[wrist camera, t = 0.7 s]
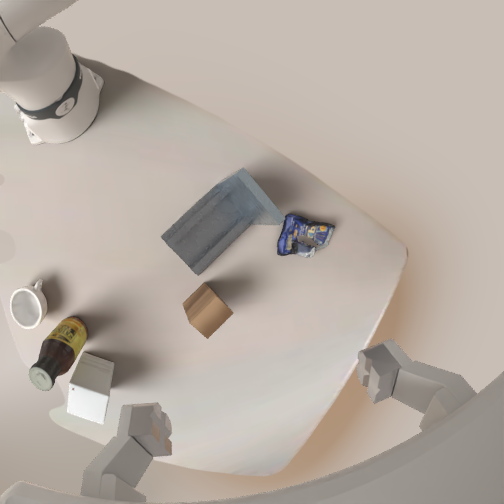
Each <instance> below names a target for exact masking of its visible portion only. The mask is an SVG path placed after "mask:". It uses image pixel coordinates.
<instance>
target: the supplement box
mask: <svg viewBox="0 0 504 504" xmlns="http://www.w3.org/2000/svg"><path fill="white" fill-rule="evenodd" d="M113 371H114V363H113V362H110V361H107V360H105V359H102V358H99V357H96V356H93V355H90V354H88V353H85V352H83V353H82V355H81V357H80V360H79V362H78V364H77V366H76V368H75V371H74V373H73V375H72V378H71V380H70V382H69V394H68V409H67V412H68V413H70V414H73V415H76V416H78V417H81V418H84V419H87V420H90V421H93V422H96V423H99V424H103V425H104V420H105V416H106V411H107V406H108V402H109V397H110V388H111V382H112V377H113Z"/></svg>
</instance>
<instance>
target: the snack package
mask: <svg viewBox="0 0 504 504" xmlns="http://www.w3.org/2000/svg"><path fill="white" fill-rule="evenodd" d="M285 218H286V219H285V220H284V225H283V229H282V232H281V234H282V238H281V235H280V238H281V239H280V238H279V239H280V240H278V241H279V242H278V244H277V247H278V251H277V254H278V255H280V256H285V255H288V254H297V255H300V256H303V257H306V258H311V257H313V255H314V253H315V251H317V250H319V249H321V248H325V247H327V245H328V241H329V239H330V237H331V235H332V231H334V228H335V226H334V225H332V224H328V223H322V222H315V221H309V220H308V219H305V218H303V217H301V216H296V215H293V214H288V215H286V216H285ZM299 235H304V236H307V237H309V238H310V239H312V240H313V241H314V242H316V243H317V245H318V244H320V247H318V248H316V247H314V246H313V247H312V246H311V245H307V244H306V243H305V242H304V241H302V242H298V240H297V237H296V236H299ZM323 243H324V245H322V244H323Z"/></svg>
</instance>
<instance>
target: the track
mask: <svg viewBox="0 0 504 504" xmlns="http://www.w3.org/2000/svg"><path fill="white" fill-rule="evenodd" d="M285 219H286V218H285V217H284V216H283V214H282V213H281V212H280V211H279V210H278V208H277V207H276V206H275V205H274V203H273V202H272V201H271V200H270V199H269V197H268V196H267V195H266V194H265V192H264V191H263V190H262V189H261V188H260V186H259V185H258V184H257V183H256V182H255V180H254V179H253V178H252V177H251V176H250V175H249V173H248V172H247V171H246V170H245V169H244V168H241V169H240V170H238V171H236V172H235V173H233V174H231V175H230V176H228V177H226V178H225V179H223V180H222V181H220V182H219V183H218V184H217V185H216V186H215V187H213V188H212V189H211V190H210V191H209V192H208V193H207V194H206V195H205V196H203V197H202V198H201V199H200V200H199V201H198V202H197V203H196V204H195V205H194V206H192V207H191V208H190V209H189V210H188V211H187V212H186V213H185V214H184V215H183V216H182V217H181V218H180V219H179V220H178V221H176V222H175V223H174V224H173V225H172V226H171V227H170V228H169V229H168V230H167V231H166V232H165V233H164V234H163V235H162V236H161V238H162V239H163V240H164V241H165V242H166V244H167V245H168V246H169V247H170V248H172V249H173V251H174V252H175V253H176V254H177V255H178V256H179V257H180V258H181V259H182V260H183V261H184V262H185V263H186V264H187V265H188V266H189V267H190V268H191V270H192V271H193V272H194V273H195V274H197V275H199V274H200V273H201V272H202V271H203V270H205V269H206V268H207V267H208V266H209V265H210V264H211V263H212V262H213V261H214V260H215V259H216V258H217V257H218V256H219V255H220V254H221V253H222V252H223V251H224V250H225V249H226V248H227V247H228V246H229V245H230V244H231V243H232V242H233V241H234V240H235V239H236V238H237V237H238V236H239V235H240V234H241V233H242V232H243V231H244V230H245V229H247V228H248V227H249V226H250V225H251V224H254V225H280V224H281V223H282V222H283V221H284V220H285Z"/></svg>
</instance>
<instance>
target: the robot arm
mask: <svg viewBox="0 0 504 504" xmlns="http://www.w3.org/2000/svg"><path fill="white" fill-rule="evenodd" d="M76 1H77V0H0V92H3V93H5V94H6V95H8V96H9V97H10V98H12V99H13V100H14V101H15V102H16V104H15V105H14V108H15V110H16V112H17V113H18V114H19V113H21V116H20V119H21V121H22V122H24V125H25V128H26V131H27V134H28V136H29V139H30V142H31V143H32V144H33V145H39V144H42V143H45V142H48V143H55V144H59V143H65V142H68V141H71V140H73V139H75V138H76V137H78V136H79V135H81V134H82V133H83V132H84V131H85V130H86V129H87V128H88V127H89V126H90V124H91V123H92V122H93V120H94V118H95V116H96V114H97V111H98V107H99V94H100V91H101V89H102V87H103V84H104V80H103V79H102V77H100V76H99V75H97V74H96V73H94V72H93V71H91V70H90V69H89V68H86V67H85V66H83V65H82V64H80V63H79V61H78V60H77V59H76V57H75V56H74V55H73V54H72V53H71V50H70V48H69V45H68V43H67V41H66V38H65V36H64V35H63V34H62V33H61V32H60V31H58V30H56V29H54V28H50V27H38V26H39V25H41V24H42V23H44V22H45V21H47V20H48V19H50V18H51V17H53V16H55V15H56V14H58V13H60V12H61V11H63V10H65V9H66V8H68V7H69V6H71V5H72V4H73V3H75V2H76ZM95 79H96V80H95ZM33 134H34V136H33ZM358 359H359V361H360V362H359V363H358V365H357V374H358V378H359V380H360V382H361V383H362V385H363V386H366V387H368V390H367V393H368V395H369V397H370V398H371V400H372V401H373V403H374V404H375V403H377V402H379V401H382V400H384V399H386V398H389V397H391V396H392V398H395V399H396V400H398V401H400V402H402V403H404V404H406V405H408V406H410V407H412V408H414V409H416V410H418V411H420V412H422V413H424V414H425V415H424V417H423V419H422V421H421V423H420V426H419V427H420V428H421V429H422V432H421V433H419V434H417V435H415V436H414V437H412V438H410V439H408V440H407V441H405V442H403V443H401V444H399V445H397V446H395V447H393V448H391V449H389V450H387V451H385V452H383V453H381V454H379V455H377V456H374V457H372V458H370V459H368V460H366V461H363V462H361V463H358V464H356V465H353V466H351V467H349V468H346V469H343V470H341V471H338V472H335V473H332V474H329V475H327V476H324V477H321V478H317V479H314V480H311V481H308V482H304V483H301V484H297V485H294V486H290V487H286V488H282V489H278V490H273V491H269V492H264V493H259V494H254V495H249V496H242V497H236V498H229V499H221V500H211V501H200V502H182V503H146V496H145V495H144V494H142V493H141V492H139V491H138V490H136V489H135V487H136V485H137V484H138V482H139V481H140V479H141V477H142V476H143V474H144V472H145V471H146V469H147V467H148V466H149V464H150V462H151V461H152V459H153V457H157V456H169V455H172V442H171V441H170V440H169V439H168V438H169V436H170V435H171V434H172V427H171V423H170V420H169V417H168V416H167V414H166V413H164V412H162V411H161V406H160V405H159V403H146V404H132V405H123V407H122V408H121V414H120V419H119V425H118V431H117V437H113V438H112V439H111V440H110V442H109V443H108V444H107V445H106V446H105V447H104V449H103V450H102V451H101V452H100V453H99V454H98V456H97V457H96V458H95V459H94V460H93V461H92V462H91V463H90V465H89V466H88V467H87V468H86V469H85V470H84V475H83V482H82V488H81V495H76V494H71V493H66V492H62V491H58V490H53V489H50V488H46V487H42V486H39V485H35V484H32V483H29V482H26V481H17V482H16V483H14V484H13V485H12V486H11V487H10V488H8V489H7V490H6V491H5V492H4V493H3V494H2V495H1V496H0V504H504V372H502V374H500V375H499V376H498V377H497V378H496V379H495V380H494V381H492V382H491V383H490V384H489V385H488V386H486V387H485V388H484V389H483V390H482V391H480V392H479V393H478V394H477V393H476V392H475V391H474V390H473V388H472V387H471V386H470V385H469V384H468V383H467V382H466V381H465V379H464V378H463V377H462V376H461V375H458V374H455V373H452V372H449V371H445V370H443V369H439V368H436V367H433V366H430V365H427V364H424V363H421V362H418V361H414V362H412V360H411V359H410V358H409V357H408V356H407V355H406V353H405V352H404V351H403V350H402V349H401V348H400V347H399V345H398V344H397V343H396V342H395V341H394V340H393V339H388V340H386V341H384V342H381V343H378V344H376V345H374V346H371V347H369V348H366V349H364V350H361V351H359V353H358Z"/></svg>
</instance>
